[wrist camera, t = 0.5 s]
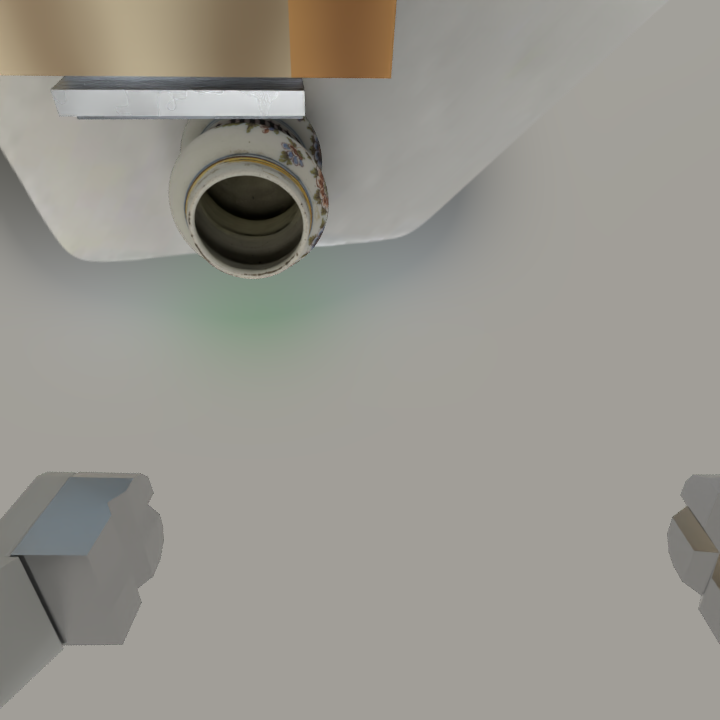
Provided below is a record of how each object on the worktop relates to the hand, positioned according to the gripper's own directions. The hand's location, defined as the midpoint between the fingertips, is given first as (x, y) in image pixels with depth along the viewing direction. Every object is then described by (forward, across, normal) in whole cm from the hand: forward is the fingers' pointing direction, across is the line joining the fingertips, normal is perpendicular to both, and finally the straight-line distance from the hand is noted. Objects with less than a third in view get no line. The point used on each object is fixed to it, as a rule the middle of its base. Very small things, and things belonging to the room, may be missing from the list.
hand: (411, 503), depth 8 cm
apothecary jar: (+48, +12, 0) cm, 49 cm away
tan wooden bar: (+19, +11, -8) cm, 23 cm away
